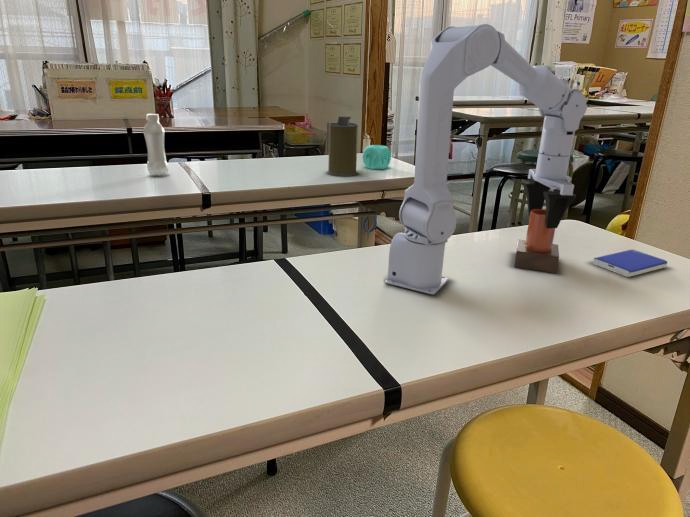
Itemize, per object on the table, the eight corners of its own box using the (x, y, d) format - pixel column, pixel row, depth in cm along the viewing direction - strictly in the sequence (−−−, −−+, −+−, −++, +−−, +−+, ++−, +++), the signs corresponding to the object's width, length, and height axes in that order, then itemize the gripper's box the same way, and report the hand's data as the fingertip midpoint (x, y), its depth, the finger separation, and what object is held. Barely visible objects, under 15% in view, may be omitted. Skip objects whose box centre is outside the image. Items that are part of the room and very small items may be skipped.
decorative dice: (361, 167, 197) (362, 146, 195) (373, 164, 203) (374, 144, 201) (379, 170, 193) (380, 148, 190) (390, 167, 199) (391, 146, 196)
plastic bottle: (165, 177, 170) (159, 115, 163) (145, 177, 170) (138, 114, 163) (171, 173, 176) (166, 113, 169) (152, 173, 176) (145, 112, 169)
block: (513, 267, 104) (516, 250, 103) (515, 254, 111) (518, 239, 110) (556, 273, 102) (559, 256, 100) (555, 260, 109) (558, 244, 107)
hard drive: (631, 248, 112) (593, 256, 107) (668, 260, 106) (630, 270, 100) (629, 255, 113) (592, 263, 107) (666, 267, 106) (628, 277, 101)
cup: (528, 251, 103) (534, 215, 100) (522, 242, 108) (528, 208, 105) (554, 252, 102) (561, 216, 100) (547, 244, 107) (553, 209, 105)
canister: (359, 171, 189) (361, 115, 182) (352, 177, 180) (354, 118, 173) (331, 169, 192) (332, 114, 185) (323, 174, 182) (323, 116, 175)
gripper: (595, 161, 92) (580, 233, 97) (555, 148, 105) (544, 211, 110) (557, 160, 91) (544, 233, 96) (523, 147, 105) (513, 211, 109)
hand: (542, 221), depth 103 cm, fingers open, 7 cm apart
